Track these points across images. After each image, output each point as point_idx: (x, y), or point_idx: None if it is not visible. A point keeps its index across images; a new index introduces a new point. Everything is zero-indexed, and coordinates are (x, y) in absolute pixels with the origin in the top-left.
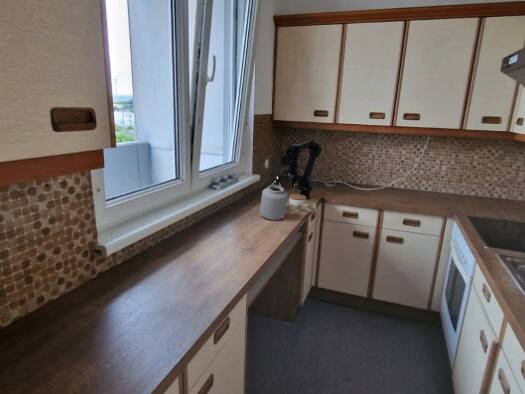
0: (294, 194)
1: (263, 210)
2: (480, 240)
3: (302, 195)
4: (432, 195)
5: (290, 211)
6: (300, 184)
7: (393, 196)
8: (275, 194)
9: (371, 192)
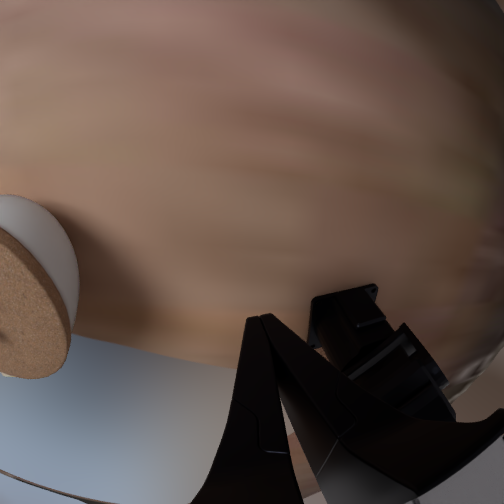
0: (30, 296)
1: None
2: (34, 484)
3: (32, 364)
4: (301, 494)
5: None
6: (386, 387)
7: (304, 479)
8: None
9: None
